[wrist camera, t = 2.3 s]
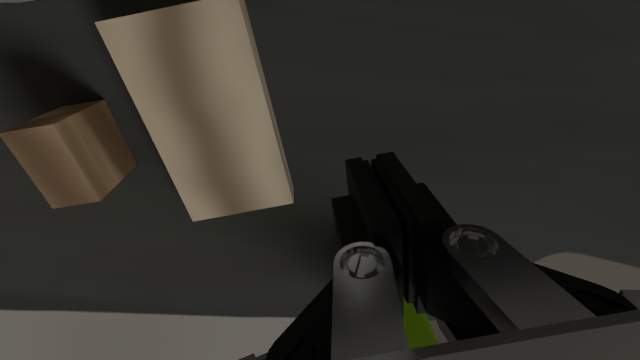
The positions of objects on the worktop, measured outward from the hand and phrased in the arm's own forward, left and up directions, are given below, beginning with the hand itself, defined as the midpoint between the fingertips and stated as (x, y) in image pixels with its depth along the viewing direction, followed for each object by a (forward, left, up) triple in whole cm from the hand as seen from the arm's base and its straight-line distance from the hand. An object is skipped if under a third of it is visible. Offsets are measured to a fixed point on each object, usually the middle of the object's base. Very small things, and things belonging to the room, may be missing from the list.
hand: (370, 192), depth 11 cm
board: (+8, 0, -13) cm, 15 cm away
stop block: (+17, 0, -12) cm, 21 cm away
